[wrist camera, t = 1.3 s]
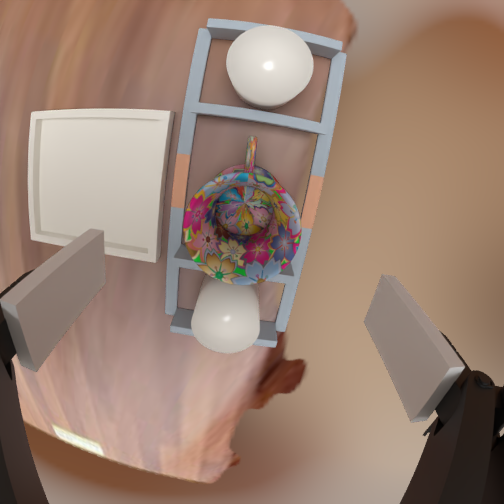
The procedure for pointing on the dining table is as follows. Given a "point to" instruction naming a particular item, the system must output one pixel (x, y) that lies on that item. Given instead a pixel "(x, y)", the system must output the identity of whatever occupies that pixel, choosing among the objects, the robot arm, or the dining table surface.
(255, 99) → the white glossy dome
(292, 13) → the dining table surface
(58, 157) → the tray
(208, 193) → the mug
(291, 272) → the rack
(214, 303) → the white rounded egg
